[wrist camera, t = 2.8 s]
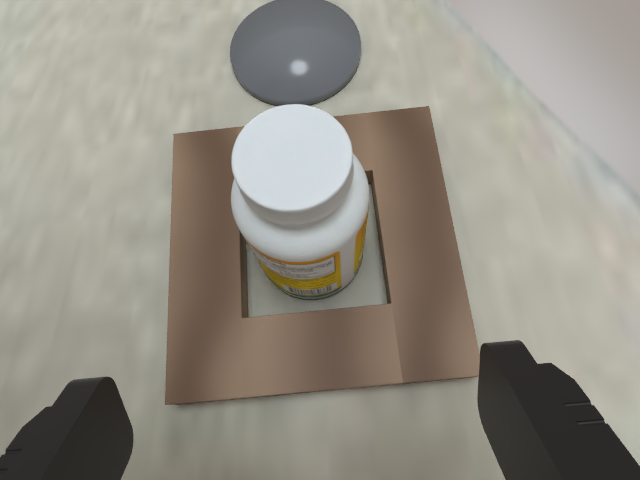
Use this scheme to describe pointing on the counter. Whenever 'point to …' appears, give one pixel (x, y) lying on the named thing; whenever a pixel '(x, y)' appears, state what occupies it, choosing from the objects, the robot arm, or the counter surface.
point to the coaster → (295, 51)
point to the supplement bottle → (300, 199)
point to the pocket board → (325, 325)
